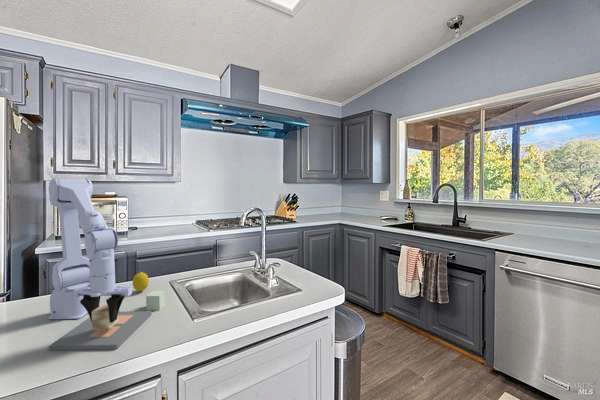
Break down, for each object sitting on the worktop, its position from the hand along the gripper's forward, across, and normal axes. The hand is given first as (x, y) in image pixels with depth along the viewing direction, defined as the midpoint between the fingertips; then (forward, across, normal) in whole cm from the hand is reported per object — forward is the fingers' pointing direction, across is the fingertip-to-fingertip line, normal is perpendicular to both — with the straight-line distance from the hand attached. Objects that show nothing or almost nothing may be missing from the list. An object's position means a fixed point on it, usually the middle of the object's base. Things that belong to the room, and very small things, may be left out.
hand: (104, 320), depth 80 cm
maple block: (+2, 0, 0) cm, 2 cm away
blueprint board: (+4, -2, +3) cm, 6 cm away
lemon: (+5, -6, +32) cm, 33 cm away
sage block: (+4, +6, +18) cm, 20 cm away
